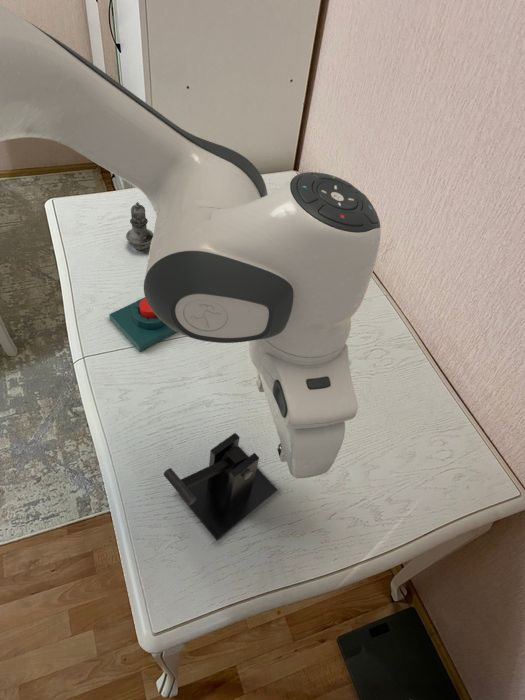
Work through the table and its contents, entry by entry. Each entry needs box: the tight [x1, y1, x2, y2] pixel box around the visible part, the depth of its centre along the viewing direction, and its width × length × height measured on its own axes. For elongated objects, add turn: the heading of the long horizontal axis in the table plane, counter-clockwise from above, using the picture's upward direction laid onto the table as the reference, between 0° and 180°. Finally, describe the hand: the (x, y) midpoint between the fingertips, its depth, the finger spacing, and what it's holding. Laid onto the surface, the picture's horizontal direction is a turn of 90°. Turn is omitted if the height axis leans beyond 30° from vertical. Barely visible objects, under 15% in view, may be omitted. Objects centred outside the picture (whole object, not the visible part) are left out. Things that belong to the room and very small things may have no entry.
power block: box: [108, 297, 178, 353], centre depth 96 cm, size 12×10×4 cm
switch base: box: [178, 432, 278, 541], centre depth 72 cm, size 12×9×13 cm
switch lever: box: [163, 445, 249, 506], centre depth 65 cm, size 12×5×2 cm, turn 133°
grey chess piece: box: [125, 201, 154, 251], centre depth 107 cm, size 6×6×12 cm
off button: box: [139, 297, 157, 319], centre depth 94 cm, size 4×4×2 cm
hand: (274, 419), depth 58 cm, fingers open, 8 cm apart
